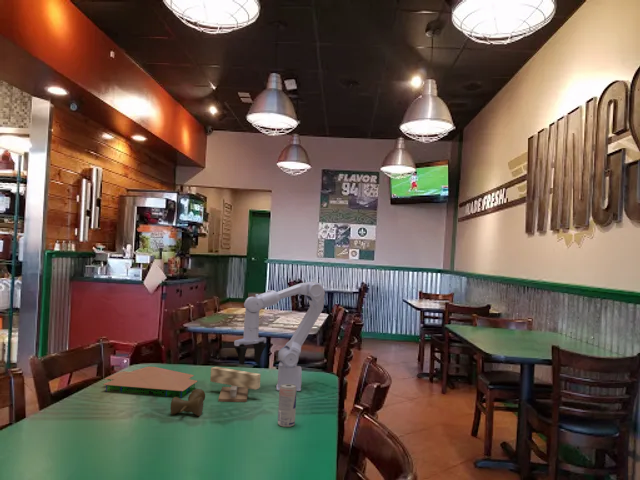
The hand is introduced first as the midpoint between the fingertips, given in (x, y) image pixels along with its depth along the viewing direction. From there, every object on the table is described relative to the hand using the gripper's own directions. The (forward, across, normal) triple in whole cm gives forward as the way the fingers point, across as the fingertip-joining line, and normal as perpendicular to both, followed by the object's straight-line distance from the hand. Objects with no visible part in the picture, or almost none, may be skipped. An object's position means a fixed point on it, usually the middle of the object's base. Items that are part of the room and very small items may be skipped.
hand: (249, 362), depth 190 cm
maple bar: (+6, -9, -3) cm, 11 cm away
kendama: (+11, -31, -8) cm, 34 cm away
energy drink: (+11, -16, -38) cm, 42 cm away
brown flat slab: (+11, -26, +25) cm, 38 cm away
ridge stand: (+10, -9, -3) cm, 14 cm away
